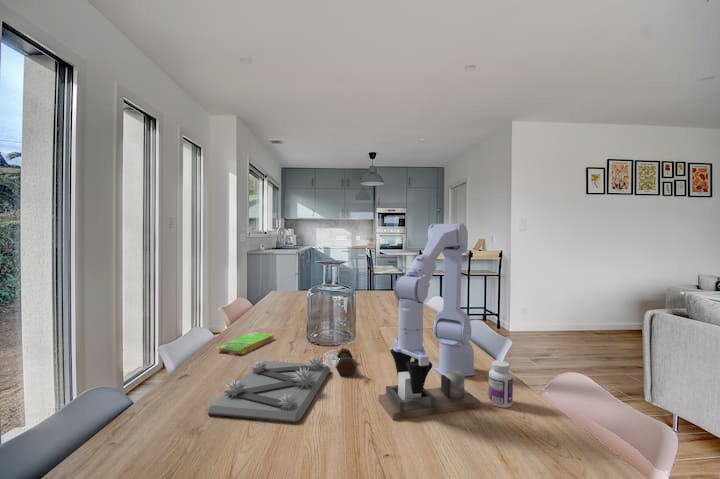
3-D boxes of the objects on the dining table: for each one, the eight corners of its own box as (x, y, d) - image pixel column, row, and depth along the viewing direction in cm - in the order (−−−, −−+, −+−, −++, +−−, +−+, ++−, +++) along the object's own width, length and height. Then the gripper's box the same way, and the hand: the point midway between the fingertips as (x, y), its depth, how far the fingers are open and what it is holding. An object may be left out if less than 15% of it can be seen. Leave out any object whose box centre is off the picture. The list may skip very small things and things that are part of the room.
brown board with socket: (458, 391, 90) (458, 365, 90) (480, 407, 82) (480, 379, 82) (378, 401, 84) (378, 374, 84) (392, 420, 75) (393, 390, 75)
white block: (415, 395, 84) (415, 370, 84) (422, 403, 80) (423, 377, 80) (397, 397, 83) (398, 372, 83) (404, 405, 79) (405, 378, 79)
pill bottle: (503, 397, 87) (503, 358, 87) (517, 407, 82) (517, 366, 82) (483, 399, 86) (484, 360, 86) (496, 409, 81) (497, 367, 81)
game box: (274, 342, 134) (238, 356, 114) (252, 340, 137) (214, 353, 118) (274, 334, 134) (239, 347, 114) (253, 332, 137) (215, 344, 118)
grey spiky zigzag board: (261, 367, 106) (261, 344, 106) (331, 372, 103) (331, 348, 103) (203, 418, 76) (204, 385, 76) (299, 427, 73) (299, 393, 73)
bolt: (346, 364, 114) (348, 381, 99) (332, 356, 114) (333, 372, 99) (355, 348, 114) (359, 363, 99) (341, 340, 114) (343, 354, 99)
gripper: (383, 321, 87) (382, 375, 87) (407, 337, 73) (407, 402, 73) (409, 319, 89) (408, 373, 89) (437, 335, 75) (436, 398, 75)
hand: (409, 385), depth 82 cm, fingers open, 7 cm apart
